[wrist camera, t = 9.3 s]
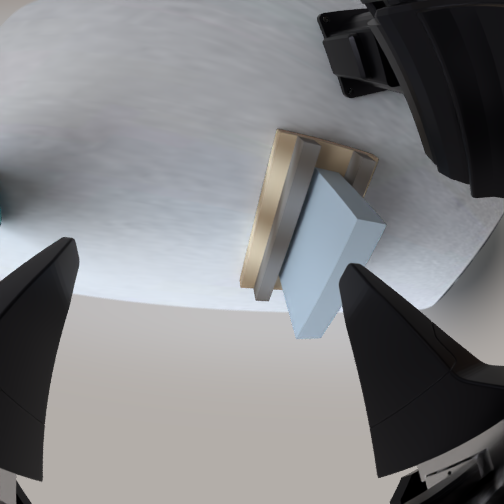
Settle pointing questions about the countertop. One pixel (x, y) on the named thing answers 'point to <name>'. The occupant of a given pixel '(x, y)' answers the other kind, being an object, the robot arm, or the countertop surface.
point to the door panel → (325, 250)
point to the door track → (293, 200)
